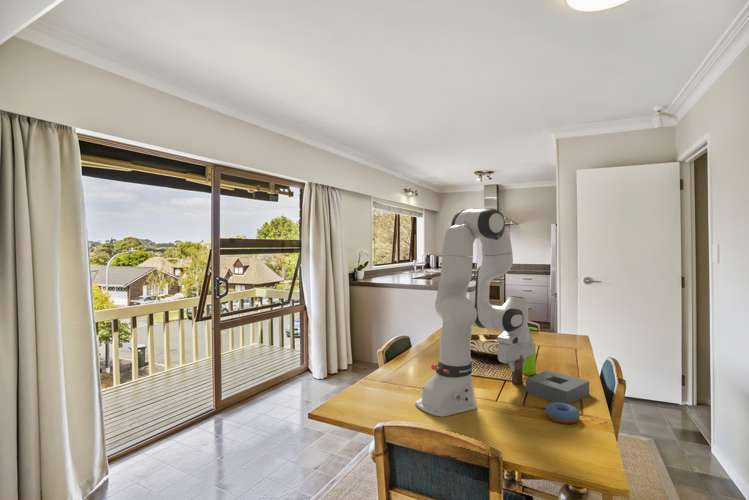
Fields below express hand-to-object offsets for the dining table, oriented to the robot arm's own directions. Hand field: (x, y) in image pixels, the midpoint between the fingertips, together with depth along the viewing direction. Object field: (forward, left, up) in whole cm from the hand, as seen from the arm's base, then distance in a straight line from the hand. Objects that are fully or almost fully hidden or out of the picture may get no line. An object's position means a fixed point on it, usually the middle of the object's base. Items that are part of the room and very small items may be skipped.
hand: (517, 369), depth 155 cm
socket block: (+3, -15, -6) cm, 16 cm away
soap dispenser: (+15, +4, -6) cm, 17 cm away
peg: (0, 0, -6) cm, 6 cm away
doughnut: (-15, -27, -6) cm, 31 cm away
